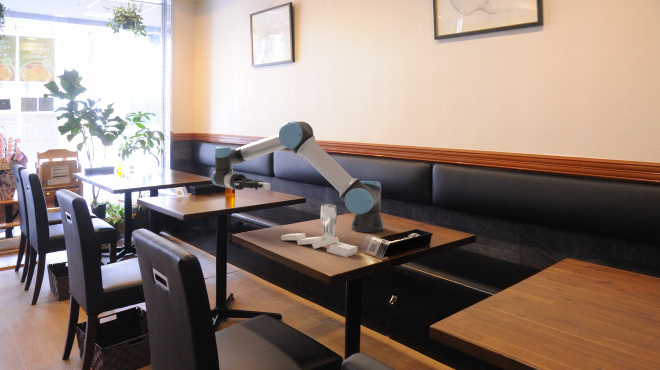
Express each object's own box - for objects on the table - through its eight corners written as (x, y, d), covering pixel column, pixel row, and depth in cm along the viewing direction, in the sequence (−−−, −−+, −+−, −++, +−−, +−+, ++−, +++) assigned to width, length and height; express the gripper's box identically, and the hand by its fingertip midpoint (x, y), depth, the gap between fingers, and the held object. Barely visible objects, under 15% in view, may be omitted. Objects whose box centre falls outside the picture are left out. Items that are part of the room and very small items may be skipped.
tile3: (312, 244, 196) (329, 238, 190) (320, 241, 200) (337, 236, 193) (313, 249, 196) (330, 243, 189) (322, 246, 200) (339, 241, 193)
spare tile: (280, 235, 209) (296, 235, 202) (289, 233, 212) (305, 233, 205) (281, 240, 209) (297, 240, 202) (290, 238, 212) (305, 237, 206)
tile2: (297, 240, 202) (313, 238, 195) (305, 237, 206) (322, 236, 199) (297, 244, 202) (314, 243, 195) (306, 242, 206) (323, 241, 199)
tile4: (329, 244, 191) (349, 249, 185) (337, 241, 195) (357, 246, 188) (329, 249, 191) (349, 254, 185) (337, 246, 195) (357, 251, 189)
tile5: (326, 248, 192) (346, 253, 186) (335, 246, 196) (354, 251, 189) (326, 253, 192) (346, 258, 186) (335, 250, 196) (354, 255, 190)
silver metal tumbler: (339, 239, 212) (339, 205, 210) (331, 242, 206) (331, 207, 204) (325, 236, 215) (326, 203, 213) (317, 240, 209) (317, 206, 207)
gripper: (246, 187, 235) (279, 193, 220) (224, 190, 226) (257, 196, 210) (246, 172, 234) (280, 177, 219) (224, 174, 225) (257, 179, 209)
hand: (269, 186), depth 215 cm, fingers closed
